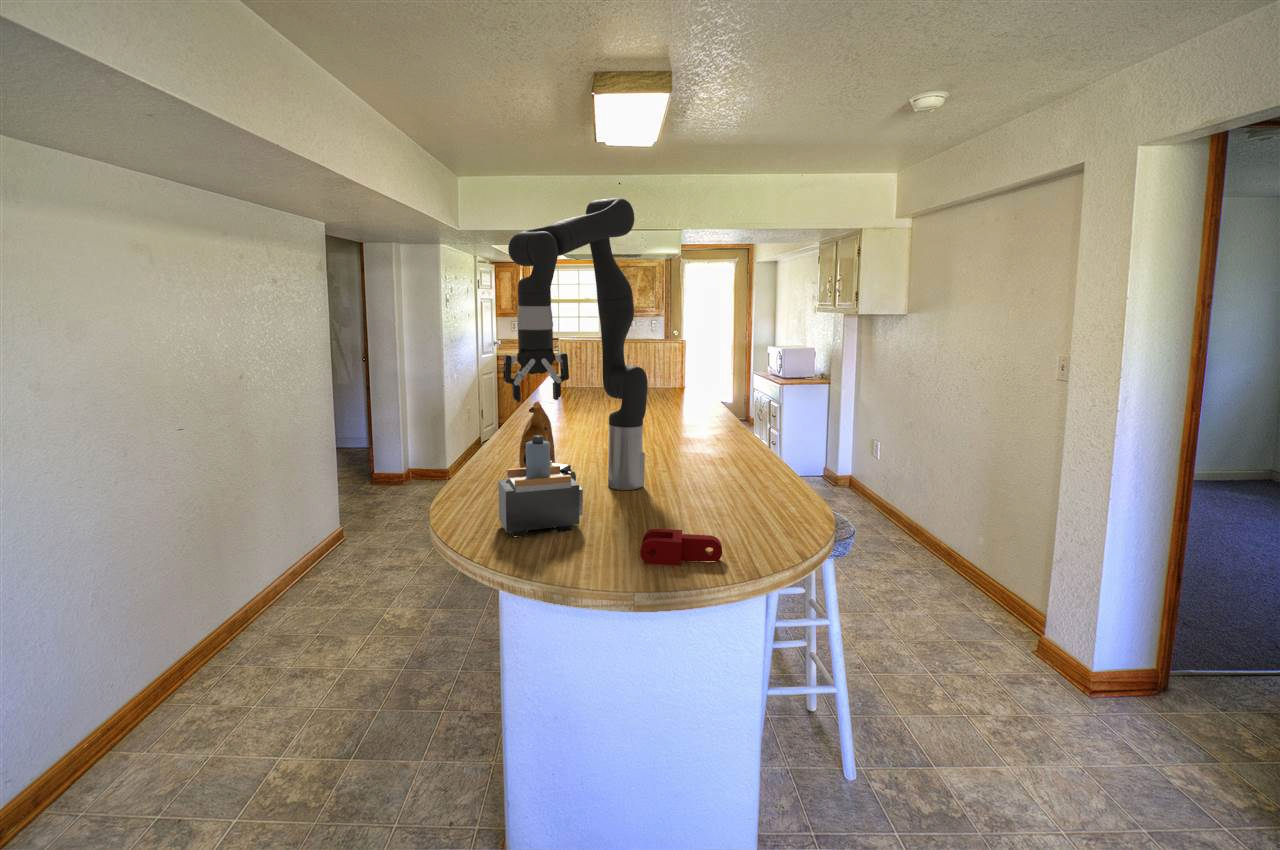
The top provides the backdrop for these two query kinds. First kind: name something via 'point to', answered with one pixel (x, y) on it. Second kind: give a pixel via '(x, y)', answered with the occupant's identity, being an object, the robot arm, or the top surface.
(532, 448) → the blue-gray bottle
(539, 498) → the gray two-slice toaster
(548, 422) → the coffee package
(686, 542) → the mechanical linkage
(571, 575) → the top surface
